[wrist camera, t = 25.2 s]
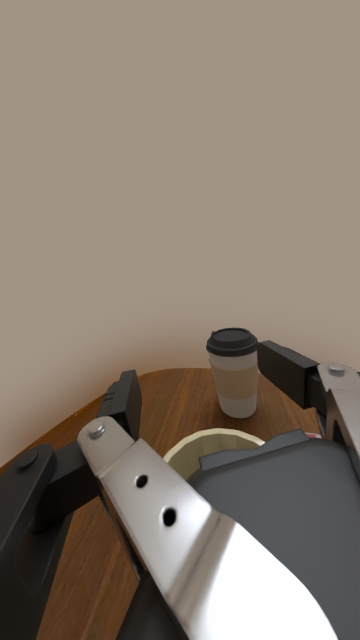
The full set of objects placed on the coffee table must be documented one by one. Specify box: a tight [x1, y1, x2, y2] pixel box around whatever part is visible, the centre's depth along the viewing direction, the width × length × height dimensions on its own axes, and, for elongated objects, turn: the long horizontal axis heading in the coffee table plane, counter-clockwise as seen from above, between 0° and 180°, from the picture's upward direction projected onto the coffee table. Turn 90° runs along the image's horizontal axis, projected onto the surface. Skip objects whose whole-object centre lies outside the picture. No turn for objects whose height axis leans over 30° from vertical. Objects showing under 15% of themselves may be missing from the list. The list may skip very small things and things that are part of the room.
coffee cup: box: [206, 328, 259, 418], centre depth 32 cm, size 9×9×15 cm
